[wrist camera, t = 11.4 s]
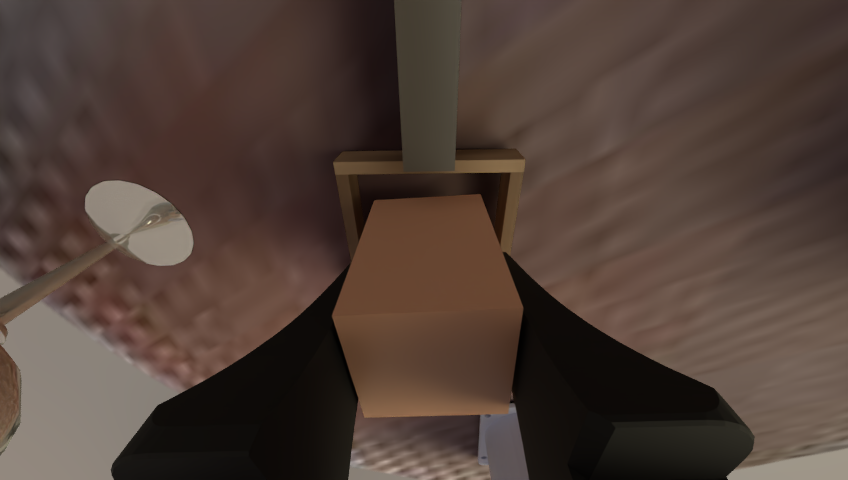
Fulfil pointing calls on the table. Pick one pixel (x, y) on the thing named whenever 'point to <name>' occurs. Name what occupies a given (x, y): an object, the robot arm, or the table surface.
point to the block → (429, 311)
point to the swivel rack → (429, 121)
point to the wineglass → (122, 230)
